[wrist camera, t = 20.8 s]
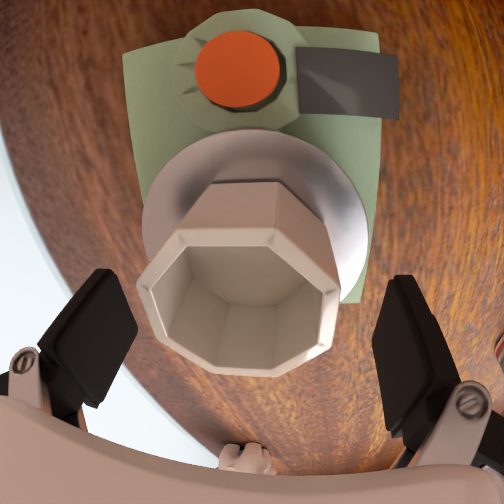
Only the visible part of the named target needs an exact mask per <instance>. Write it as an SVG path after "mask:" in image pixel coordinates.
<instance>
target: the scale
mask: <svg viewBox="0 0 504 504" xmlns="http://www.w3.org/2000/svg"><path fill="white" fill-rule="evenodd" d="M231 31H246V32H251V33H254V34H256V35H258V36H260V37H262V38H264V39H265V40H266V41H267V42H268V43H269V44H270V45H271V46H272V47H273V49H274V50H275V52H276V54H277V57H278V60H279V66H280V78H279V81H278V84H277V86H276V88H275V90H274V91H273V92H272V93H271V95H270V96H268V97H267V98H266V99H265V100H263V101H261V102H259V103H257V104H254V105H250V106H245V107H227V106H222V105H220V104H217V103H215V102H213V101H212V100H210V99H209V98H208V97H206V96H205V95H204V93H203V92H202V91H201V89H200V88H199V86H198V84H197V81H196V77H195V63H196V60H197V57H198V55H199V53H200V51H201V50H202V48H203V47H204V46H205V45H206V44H207V43H208V42H209V41H210V40H211V39H213V38H215V37H216V36H218V35H220V34H223V33H226V32H231ZM296 47H326V48H341V49H352V50H361V51H369V52H376V53H380V50H379V38H378V33H375V32H368V31H360V30H352V29H342V28H330V27H309V26H294V25H293V24H292V23H291V22H289V21H287V20H285V19H283V18H280V17H278V16H275V15H273V14H270V13H268V12H265V11H263V10H260V9H244V10H234V11H226V12H220V13H217V14H215V15H213V16H212V17H210V18H209V19H207V20H206V21H204V22H203V23H201V24H200V25H198V26H197V27H195V28H194V29H193V30H191V31H190V32H189V33H188V34H186V36H185V37H184V38H179V39H174V40H170V41H166V42H162V43H158V44H154V45H150V46H147V47H143V48H140V49H136V50H133V51H130V52H127V53H124V54H123V55H122V58H123V72H124V83H125V94H126V103H127V111H128V119H129V126H130V133H131V140H132V147H133V153H134V159H135V164H136V170H137V175H138V181H139V186H140V191H141V196H142V201H143V205H144V204H145V200H146V197H147V194H148V192H149V189H150V187H151V185H152V183H153V181H154V180H155V178H156V176H157V175H158V173H159V172H160V171H161V169H162V168H163V167H164V166H165V164H166V163H167V162H168V161H169V160H170V159H171V158H172V157H174V156H175V155H176V154H177V153H178V152H179V151H181V150H182V149H184V148H185V147H187V146H188V145H190V144H191V143H193V142H195V141H197V140H199V139H201V138H203V137H205V136H208V135H210V134H212V133H215V132H219V131H222V130H226V129H231V128H238V127H266V128H272V129H278V130H282V131H285V132H288V133H292V134H295V135H297V136H299V137H301V138H304V139H306V140H308V141H310V142H312V143H313V144H315V145H316V146H318V147H319V148H321V149H322V150H324V151H325V152H326V153H327V154H328V155H329V156H331V157H332V158H333V159H334V160H335V161H336V162H337V163H338V164H339V165H340V167H341V168H342V169H343V170H344V171H345V173H346V174H347V175H348V177H349V178H350V179H351V181H352V182H353V184H354V186H355V188H356V189H357V191H358V193H359V195H360V197H361V200H362V202H363V205H364V207H365V211H366V216H367V220H368V229H369V242H368V251H367V256H366V260H365V264H364V266H363V269H362V271H361V274H360V276H359V278H358V280H357V281H356V283H355V285H354V287H353V288H352V289H351V290H350V292H349V293H348V294H347V296H346V297H345V298H344V299H343V300H342V301H341V302H340V303H360V301H361V296H362V291H363V286H364V281H365V276H366V270H367V265H368V259H369V253H370V246H371V240H372V233H373V226H374V218H375V210H376V201H377V191H378V179H379V166H380V149H381V118H374V117H363V116H349V115H330V114H299V96H298V77H297V61H296Z"/></svg>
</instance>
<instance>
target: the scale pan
mask: <svg viewBox="0 0 504 504" xmlns="http://www.w3.org/2000/svg"><path fill="white" fill-rule="evenodd" d="M296 61H297V77H298V96H299V114H330V115H349V116H363V117H374V118H383V119H392V120H399V73H398V56H394V55H389V54H383V53H376V52H369V51H361V50H352V49H341V48H326V47H296ZM256 182H279V183H280V184H282V185H283V186H284V187H285V188H286V189H287V190H288V191H289V192H290V193H292V194H293V195H294V196H295V197H296V198H297V199H298V200H299V201H300V202H301V203H302V204H303V205H304V206H305V207H307V208H308V209H309V210H310V211H311V212H312V213H313V214H314V215H315V216H316V217H317V218H318V219H319V220H320V221H321V222H322V223H323V224H324V225H325V226H326V228H327V231H328V234H329V238H330V242H331V246H332V249H333V253H334V257H335V261H336V265H337V269H338V273H339V278H340V282H341V286H342V291H341V298H340V302H341V301H342V300H343V299H344V298H345V297H346V296H347V294H348V293H349V292H350V290H351V289H352V288H353V287H354V285H355V283H356V281H357V280H358V278H359V276H360V274H361V271H362V269H363V266H364V264H365V260H366V256H367V251H368V242H369V229H368V220H367V216H366V211H365V207H364V205H363V202H362V200H361V197H360V195H359V193H358V191H357V189H356V188H355V186H354V184H353V182H352V181H351V179H350V178H349V177H348V175H347V174H346V173H345V171H344V170H343V169H342V168H341V167H340V165H339V164H338V163H337V162H336V161H335V160H334V159H333V158H332V157H331V156H329V155H328V154H327V153H326V152H325V151H324V150H322V149H321V148H319V147H318V146H316V145H315V144H313V143H312V142H310V141H308V140H306V139H304V138H301V137H299V136H297V135H295V134H292V133H288V132H285V131H282V130H278V129H272V128H266V127H238V128H231V129H226V130H222V131H219V132H215V133H212V134H210V135H208V136H205V137H203V138H201V139H199V140H197V141H195V142H193V143H191V144H190V145H188V146H187V147H185V148H184V149H182V150H181V151H179V152H178V153H177V154H176V155H175V156H174V157H172V158H171V159H170V160H169V161H168V162H167V163H166V164H165V166H164V167H163V168H162V169H161V171H160V172H159V173H158V175H157V176H156V178H155V180H154V181H153V183H152V185H151V187H150V189H149V192H148V194H147V197H146V200H145V204H144V209H143V215H142V238H143V243H144V248H145V252H146V255H147V257H148V260H149V261H150V260H151V259H152V257H153V256H154V255H155V253H156V252H157V250H158V249H159V248H160V246H161V245H162V244H163V242H164V241H165V240H166V238H167V237H168V236H169V234H170V233H171V232H172V230H173V229H174V228H175V227H176V225H177V224H178V223H179V222H180V220H181V219H182V218H183V217H184V215H185V214H186V213H187V212H188V210H189V209H190V208H191V207H192V205H193V204H194V203H195V202H196V201H197V199H198V198H199V197H200V196H201V195H202V193H203V192H204V191H205V190H206V189H207V187H208V186H209V185H211V184H228V183H256Z"/></svg>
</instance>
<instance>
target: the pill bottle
mask: <svg viewBox="0 0 504 504" xmlns="http://www.w3.org/2000/svg"><path fill="white" fill-rule="evenodd" d="M495 356H496V358H497V360H498V362H499V364H500V366H501V368H502V371H503V373H504V335H503V336H502V338H501V339H500V340H499V342H498V344H497V346H496V348H495Z"/></svg>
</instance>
